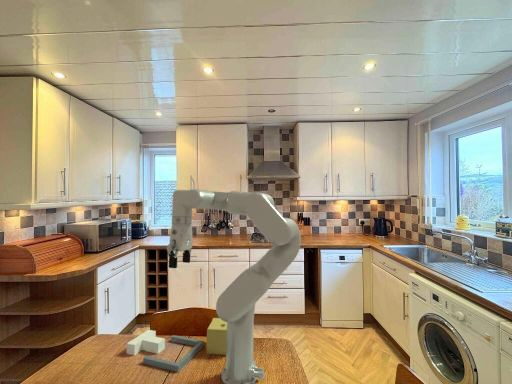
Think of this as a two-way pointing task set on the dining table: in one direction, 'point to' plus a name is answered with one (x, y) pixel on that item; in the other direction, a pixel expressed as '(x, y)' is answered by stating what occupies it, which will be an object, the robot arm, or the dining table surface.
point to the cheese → (216, 337)
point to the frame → (183, 361)
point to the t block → (146, 343)
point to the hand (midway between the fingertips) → (179, 265)
